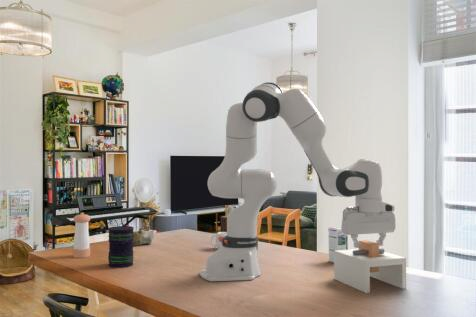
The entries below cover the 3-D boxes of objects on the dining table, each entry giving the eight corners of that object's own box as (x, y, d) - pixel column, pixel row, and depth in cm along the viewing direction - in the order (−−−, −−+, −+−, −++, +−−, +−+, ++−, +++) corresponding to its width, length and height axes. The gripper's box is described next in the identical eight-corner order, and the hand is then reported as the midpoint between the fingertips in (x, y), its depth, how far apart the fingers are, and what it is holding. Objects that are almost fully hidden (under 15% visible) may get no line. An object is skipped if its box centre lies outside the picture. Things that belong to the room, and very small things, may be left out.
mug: (236, 248, 205) (236, 232, 205) (227, 251, 198) (227, 234, 198) (215, 246, 211) (215, 230, 211) (206, 249, 204) (206, 232, 204)
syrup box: (337, 263, 173) (337, 228, 174) (328, 261, 179) (328, 226, 179) (348, 262, 176) (348, 227, 176) (338, 259, 181) (338, 226, 182)
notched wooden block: (371, 272, 141) (371, 244, 141) (358, 267, 147) (358, 240, 147) (378, 271, 142) (378, 243, 142) (365, 267, 148) (365, 240, 148)
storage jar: (103, 265, 169) (103, 227, 169) (124, 261, 176) (125, 225, 176) (116, 269, 162) (117, 230, 162) (138, 265, 169) (138, 227, 169)
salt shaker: (78, 258, 180) (79, 214, 181) (69, 256, 185) (70, 212, 185) (93, 255, 186) (94, 212, 186) (84, 253, 190) (84, 211, 191)
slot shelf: (365, 292, 133) (365, 256, 133) (334, 278, 150) (334, 246, 150) (406, 288, 139) (406, 252, 139) (371, 275, 155) (371, 243, 156)
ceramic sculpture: (156, 228, 212) (127, 231, 205) (157, 245, 212) (127, 249, 205) (150, 225, 222) (121, 229, 215) (151, 242, 222) (122, 246, 214)
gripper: (348, 207, 138) (348, 250, 138) (398, 206, 145) (398, 246, 145) (337, 206, 144) (337, 246, 144) (386, 204, 151) (386, 243, 151)
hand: (368, 246), depth 145 cm, fingers open, 8 cm apart
